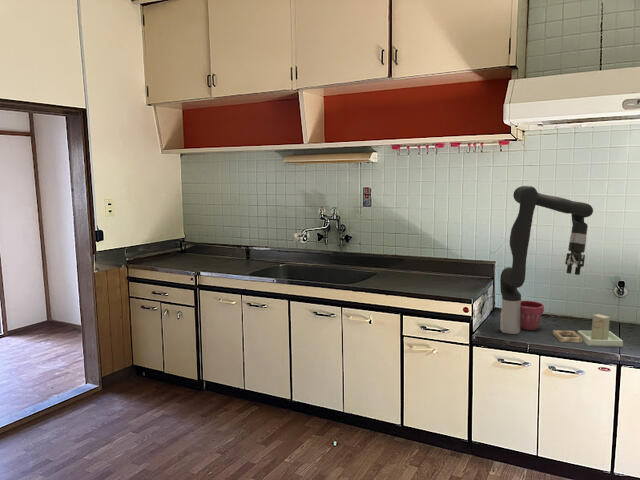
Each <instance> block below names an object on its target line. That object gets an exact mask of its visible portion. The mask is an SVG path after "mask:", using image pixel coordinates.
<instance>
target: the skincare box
mask: <svg viewBox="0 0 640 480" xmlns="http://www.w3.org/2000/svg"><path fill="white" fill-rule="evenodd" d="M610 319H611V317H610V316H607V315H603V314H600V313H597V314H592V320H591V321H592V323H591V331H592V333H591V339H593V340H608V333H609V331H610V322H611V321H610Z"/></svg>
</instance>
